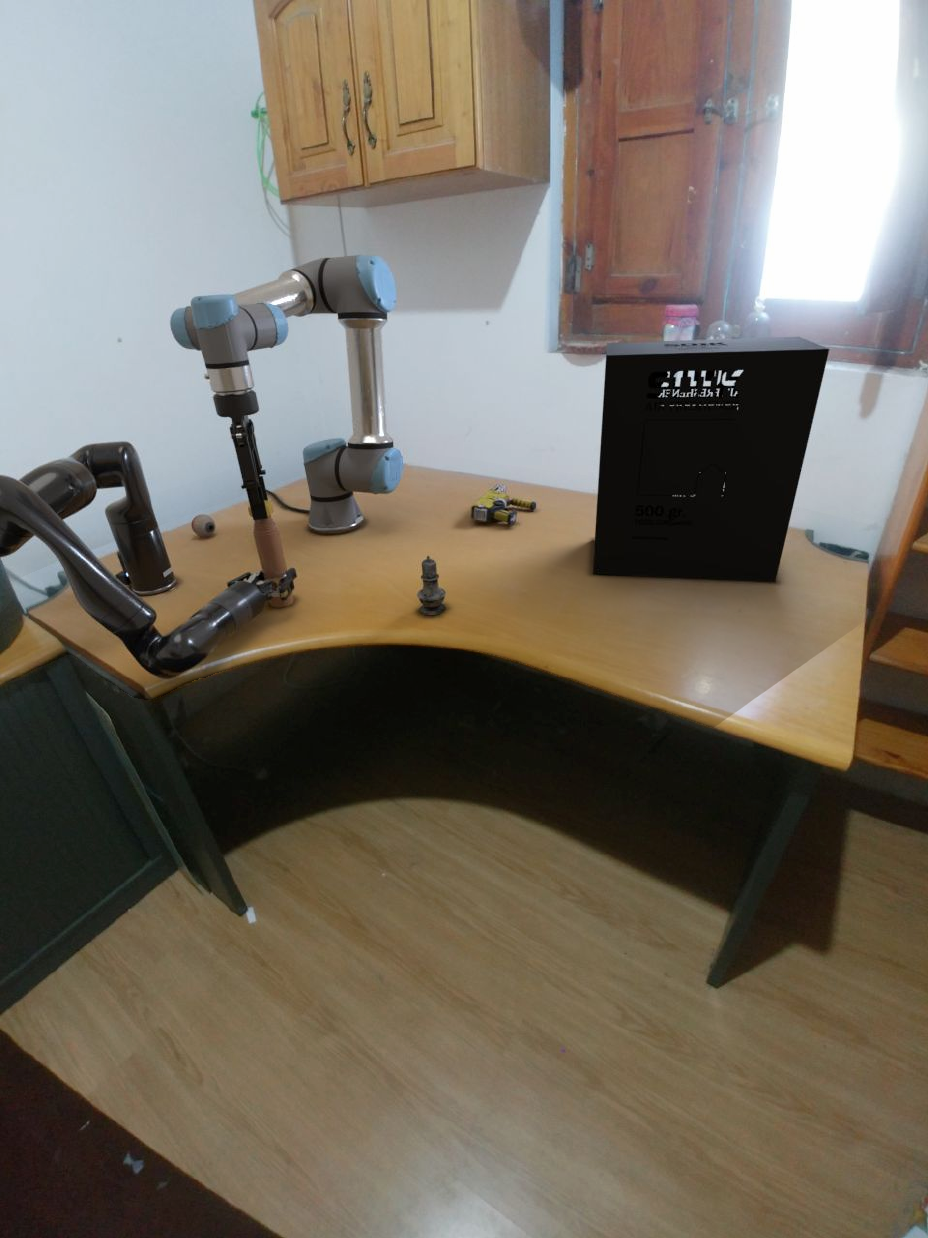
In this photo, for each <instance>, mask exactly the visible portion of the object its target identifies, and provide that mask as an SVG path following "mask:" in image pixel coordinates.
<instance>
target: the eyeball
mask: <svg viewBox="0 0 928 1238" xmlns="http://www.w3.org/2000/svg"><path fill="white" fill-rule="evenodd" d="M191 529H192V531H193V532H194V533H195V534H196V535H197V536H199V537H205V538H206V537H209V536H211V535H212V534H213V533H214V532H215V530H216V522H215V520H214V519H213V518H212V517H211V516H210V515H208V514H198V515H196V516H195V517H194V518H193V519H192V521H191Z"/></svg>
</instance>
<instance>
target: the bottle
mask: <svg viewBox="0 0 928 1238" xmlns="http://www.w3.org/2000/svg"><path fill="white" fill-rule="evenodd" d="M252 534H253V538H254V543H255V546H256V551H257V555H258V559H259V563H260V567H261V570H262V572H263V576H264V580H267V579H269V578H271V577H275V578H277V577H279V576H281V575H282V574H284V573H285V572H286V571H288V567H287V563H286V558H285V554H284V550H283V549H284V548H283V545H282V540H281V534H280V531H279V528H278V525H277V523H276V522H275V520H274V518H273V517H272V514H271V515H269V516H268V519H260V520H253V526H252ZM272 585H273V582H272ZM279 585H282V581H280V582H279ZM273 589H274V587H273ZM294 601H295V599H294V594H293V592H292V593H291V594H290V596H289V597H288V598H287V600H285V601H282V600H281V598H280V597H274V598H273V599H272V600H269V601H268V602H269V604H270V606H271V607H272V608H279V609H280V608H284V607H288V606H290V605H292V604H293V603H294Z"/></svg>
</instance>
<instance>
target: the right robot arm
mask: <svg viewBox="0 0 928 1238" xmlns="http://www.w3.org/2000/svg"><path fill="white" fill-rule="evenodd" d="M396 288H397V287H396V283H395V279H394V275H393V273H392V270H391V269H390V267H389V265H388V264H387V262H386V261H385V260H384V259H383V258H382V257H380V256H379V255H376V254H355V255H354V254H353V255H343V256H335V257H334V256H333V257H322V258H317V259H314V260H312V261H309V262H306V263H303V264H301V265H298V266H296V267H292V269H288V270H285V271H283V272H282V273H281V274H279V276H278V278H277V279H274V280H273V281H269V282H266V283H263V284H259V285H257V286H254V287H250V288H248V289H245V290H242V291H239V292H235V293H233V294H231V293H226V294H224V293H223V294H221V293H220V294H209V295H208V294H207V295H197V296H193V297H192V298H191V300H190V305H186V306H185V307H178V308H176V309H175V310H174V311H173V312H172V314H171V316H170V321H169V327H170V331H171V333H172V336H173V338H174V340H175V341H176V343H177V344H178V345H179V346H180V347H182V348H184V349H186V350H195V351H198V352H201V355H202V359H203V362H204V366H205V370H206V373H204V375H203V378H204V379H205V380H209V387H210V390H211V392H213V393H215V394H213V396H212V400H213V404H214V408H215V412H216V415H217V416H218V417H221V418H229V419H231V424H230V426H229V432H230V436H231V437H230V438H231V440H232V442H233V447H234V449H235V454H236V459H237V462H238V467H239V472H240V475H241V481H242V485H240V488H241V489H242V490H243V489H244V490H245V491H246V495H247V498H248V503H249V504H250V508H251V512H252V516H253V517H252V519H253V521H254V520H260V519H268V515H267V511H266V506H265V502H264V500H268V501H269V498H268V494H270V495H272V496H273V498H275V499H276V500H277V502H278V503H280V504H281V506H283V507H284V508H286V509H288V510H290V511H291V510H292V511H295V512H300V513H308V521H307V524H308V528H309V529H308V530H310V531H311V532H312V533H314V534H317V535H323V536H324V535H325V536H327V535H329V536H331V535H339V534H340V535H341V534H345V533H350V532H353V531H355V530H357V529H359V528H361V527H362V526H363V525H364V523H365V519H364V514H363V512H362V510H361V508H360V505H359V504H358V501H357V500H356V498H355V495H354V493H363V494H365V493H366V494H372V495H388V494H391V493H392V492H394V491H395V490H396V489H397V487H398V486H399V484H400V482H401V479H402V476H403V472H404V457H403V455H402V452H401V451H400V449H398V448H396V447H394V446H395V445H394V439H393V437H392V436H390V435H389V433H388V428H387V425H388V424H387V407H386V389H385V371H384V369H385V367H384V350H383V349H384V348H383V334H382V333H383V332H382V331H383V328H384V326H386V324H387V323H388V313H390V312H392V311H393V310H394V308H395V307H396V303H397V302H396V301H397V289H396ZM312 314H313V315H315V314H318V315H319V314H332V315H333V314H335V315H337V321H338V323H339V324H340V325H341V326H342V327H343V328H344V331H345V344H346V345H345V347H346V358H347V371H348V386H349V399H350V412H351V426H352V434H351V436H349V438H348V439H347V441H346V439H345V438H342V437H335V438H328V439H323V440H320V441H316V442H313V443H309V444H308V445H306V446H305V447H304V448H303V450H302V457H303V459H302V460H303V467H304V472H305V477H306V481H307V486H308V492H309V498H310V507H309V509H302V508H297V507H293V506H291V505H288V504H286V503H285V502H283V501H282V500H281V499H280V498H279V497H278V496H277V494H275V493H274V492H272V491H271V490H270V489H267V488H266V484H265V479H264V475H267V472H266V469H263V465H262V463H261V457H260V453H259V449H258V445H257V444H258V443H257V437H256V434H255V424H254V422H253V420H252V418H249V416H252V415H254V414H257V413H258V412H259V411H260V405H259V401H258V396H257V392H256V391H255V390H253V389H254V388H255V379H254V375H253V372H252V366H251V363H250V359H249V354H248V352H251V351H256V350H257V351H259V350H263V349H273V348H275V347H276V346H280V345H282V344H283V343H285V341H286V340H287V338H288V335H289V323H288V320H287V319H288V318H290V317H292V316H294V317H297V318H301V317H305V316H307V315H312Z"/></svg>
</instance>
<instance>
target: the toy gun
mask: <svg viewBox="0 0 928 1238" xmlns="http://www.w3.org/2000/svg"><path fill="white" fill-rule="evenodd" d="M509 506H513V507H517V508H519V507H520V508H521V509H527V510H530V511H535V510H536V509H537V502H536V501H532V500H531V501H529V500H526V499H521V498H517V497H513V498H512V499H510V496H509V495H508V494H507V486H506V485H505V484H502V485H501V484H500V483H497V484H496V485H495V486H493V487H492V488H491V489H489V490H488V491H487V492H486V493H485V494H484V495H483V496H481V498H479V499H478V500H477V501H476V502H475V503H474V504H473V505H471V508H470V518H471V520H473V521H475V522H476V523H483V522H484V523H491V522H495V521H501V522H504V523H507V526H508V527H509V526H510V527H511V526H512V525H514V524H515V523H516V522H517V517H518V510H516V509H513V510H511V511H510V508H508V507H509Z"/></svg>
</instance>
